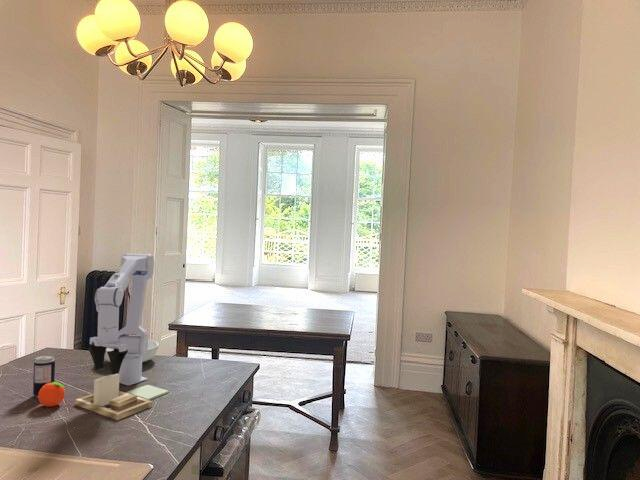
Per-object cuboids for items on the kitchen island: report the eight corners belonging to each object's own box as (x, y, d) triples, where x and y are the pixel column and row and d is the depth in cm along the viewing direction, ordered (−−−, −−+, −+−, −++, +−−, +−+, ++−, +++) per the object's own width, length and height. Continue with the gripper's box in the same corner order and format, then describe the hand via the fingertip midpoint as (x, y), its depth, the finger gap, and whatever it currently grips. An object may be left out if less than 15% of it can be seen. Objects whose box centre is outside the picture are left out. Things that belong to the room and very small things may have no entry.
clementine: (73, 402, 141) (73, 379, 141) (58, 411, 134) (59, 387, 134) (47, 400, 141) (48, 377, 141) (32, 409, 134) (32, 385, 134)
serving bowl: (156, 369, 175) (157, 350, 175) (95, 371, 169) (96, 353, 169) (159, 353, 195) (159, 337, 195) (104, 355, 189) (105, 338, 189)
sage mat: (126, 393, 149) (126, 391, 149) (147, 386, 157) (147, 384, 157) (147, 400, 144) (147, 398, 144) (168, 392, 152) (168, 390, 152)
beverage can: (58, 394, 147) (59, 356, 146) (41, 400, 141) (41, 361, 141) (46, 390, 149) (47, 353, 149) (28, 396, 144) (29, 358, 143)
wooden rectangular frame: (75, 404, 139) (75, 399, 139) (110, 392, 149) (111, 388, 149) (117, 420, 130) (117, 414, 130) (151, 406, 140) (152, 401, 140)
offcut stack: (108, 412, 135) (108, 400, 135) (127, 404, 141) (128, 392, 141) (118, 415, 133) (119, 403, 133) (137, 407, 140) (137, 395, 140)
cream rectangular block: (93, 406, 139) (94, 379, 138) (114, 398, 145) (114, 373, 145) (98, 407, 138) (98, 381, 137) (118, 400, 144) (119, 374, 144)
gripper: (80, 325, 141) (79, 369, 141) (112, 332, 133) (111, 379, 134) (101, 321, 147) (100, 364, 147) (132, 328, 140) (131, 373, 140)
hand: (107, 371), depth 141 cm, fingers open, 7 cm apart
